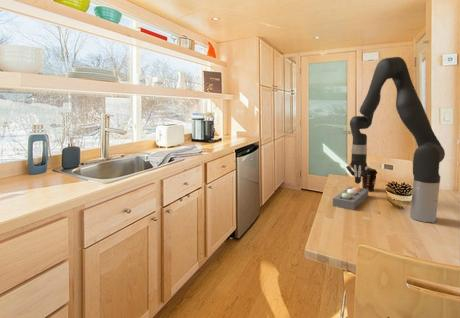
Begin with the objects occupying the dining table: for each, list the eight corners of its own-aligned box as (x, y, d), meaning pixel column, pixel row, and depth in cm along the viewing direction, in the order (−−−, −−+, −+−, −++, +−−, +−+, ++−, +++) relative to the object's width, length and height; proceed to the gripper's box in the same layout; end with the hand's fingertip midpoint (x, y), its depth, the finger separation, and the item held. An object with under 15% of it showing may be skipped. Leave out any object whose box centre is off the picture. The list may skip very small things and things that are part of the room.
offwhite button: (357, 194, 144) (357, 189, 143) (354, 196, 140) (355, 191, 140) (348, 193, 146) (348, 188, 146) (346, 194, 143) (346, 190, 143)
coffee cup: (372, 188, 166) (374, 167, 164) (378, 192, 158) (380, 170, 156) (358, 188, 167) (359, 167, 165) (363, 191, 159) (364, 170, 157)
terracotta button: (361, 192, 150) (361, 188, 150) (359, 194, 147) (359, 190, 147) (353, 191, 153) (353, 186, 153) (351, 193, 150) (351, 188, 150)
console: (368, 196, 151) (368, 189, 150) (353, 210, 130) (353, 202, 129) (349, 193, 158) (349, 186, 157) (332, 205, 137) (333, 198, 136)
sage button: (352, 198, 137) (352, 193, 136) (349, 200, 133) (349, 195, 133) (343, 197, 140) (343, 192, 139) (340, 199, 136) (340, 194, 136)
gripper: (374, 152, 145) (372, 183, 148) (348, 151, 154) (347, 180, 156) (370, 154, 139) (368, 186, 142) (344, 152, 148) (343, 183, 151)
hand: (357, 183), depth 149 cm, fingers closed
